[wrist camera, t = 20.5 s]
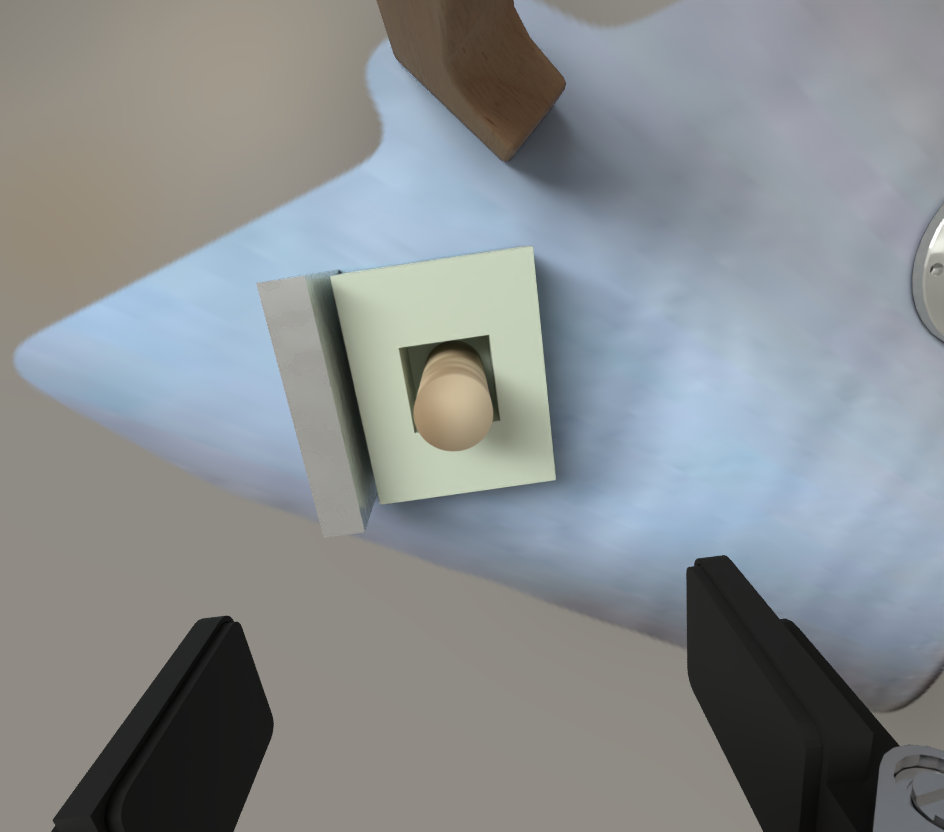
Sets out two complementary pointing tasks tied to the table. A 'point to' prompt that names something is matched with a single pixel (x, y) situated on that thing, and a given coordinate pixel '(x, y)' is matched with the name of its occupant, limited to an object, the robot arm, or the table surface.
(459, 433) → the wooden dowel
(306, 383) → the backstop board
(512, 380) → the socket block
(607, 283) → the table surface
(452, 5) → the wooden block
